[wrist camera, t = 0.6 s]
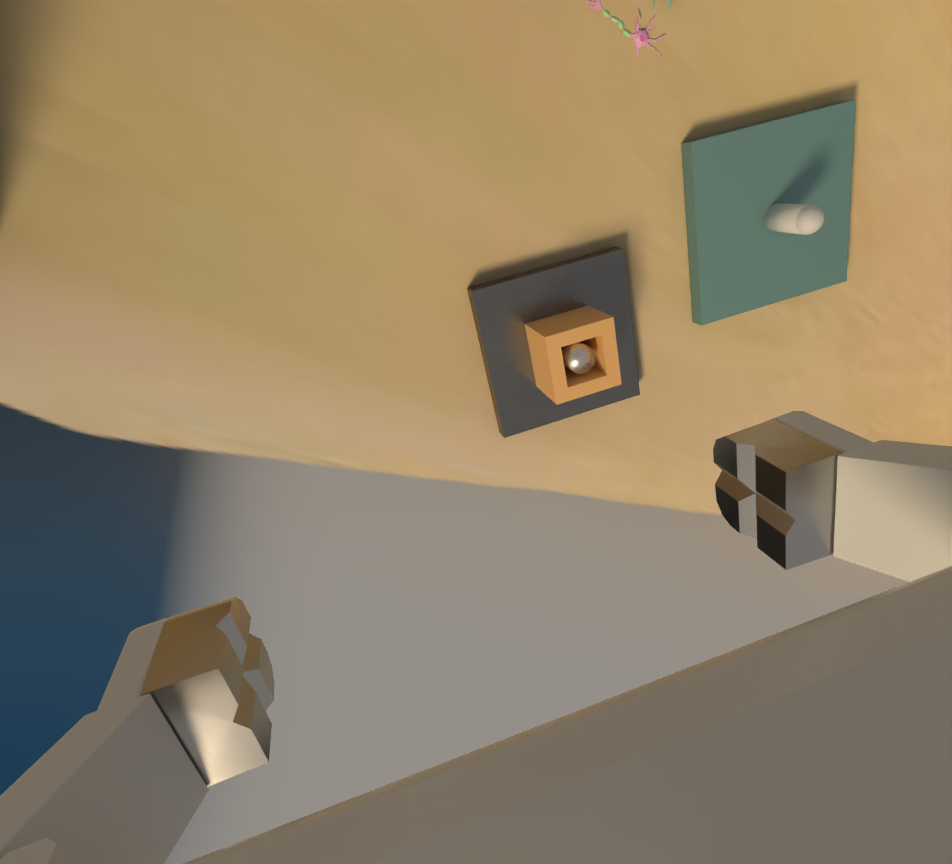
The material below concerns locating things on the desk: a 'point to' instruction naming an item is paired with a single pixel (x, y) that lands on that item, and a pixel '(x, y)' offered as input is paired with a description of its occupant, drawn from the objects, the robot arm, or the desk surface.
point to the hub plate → (746, 196)
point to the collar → (564, 331)
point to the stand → (508, 353)
